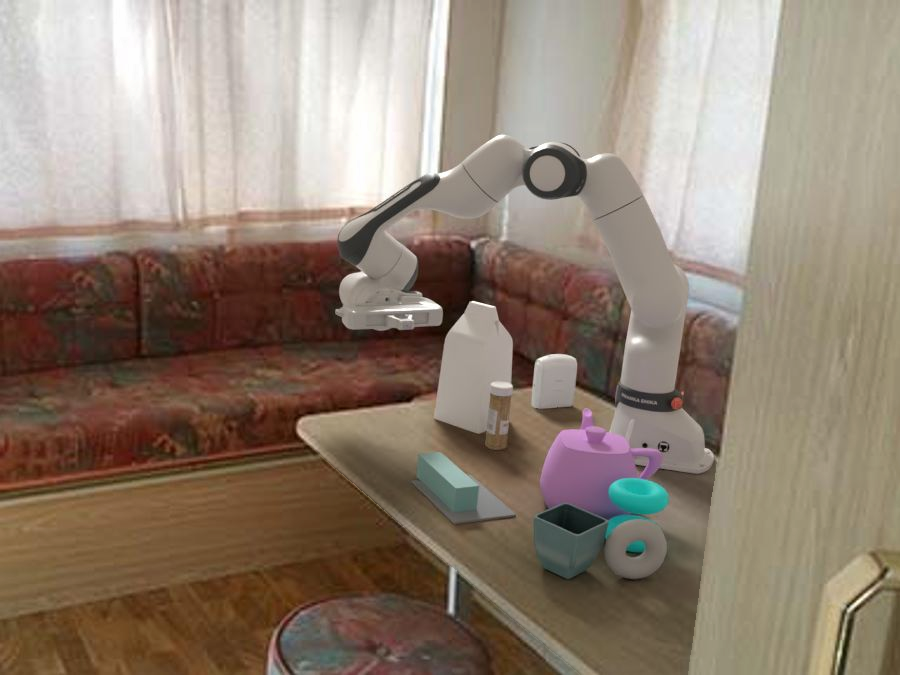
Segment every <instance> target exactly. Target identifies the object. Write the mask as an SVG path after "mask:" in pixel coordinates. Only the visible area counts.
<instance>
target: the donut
mask: <svg viewBox="0 0 900 675" xmlns="http://www.w3.org/2000/svg"><path fill="white" fill-rule="evenodd" d="M655 524H656V523H655ZM655 524H653V523H651V522H650V521H647V520H641V519H636V520H628V521H626V522H624V523H622V524H620V525H618V526H617V527H616V528H615V529H613V530H612V532H611V533H610V535H609V536H608V538H607V540H606V539H605V541H606V542H605V543H604V547H603V548H604V549H603V550H604V559H605V561H606V564H607V567H609V568H610V570H611V571H612V572H614V574H615V575H618V576H619V577H621V578H623V579H629V580H630V579H631V580H638V579H644V578H646V577H648V576H650V575H652V574H653V573H655V572H656V571H657V570H659V568H660V567H661V565H662V564H663V563H664V561H665V558H666V555H667V552H668V547H667V546H668V544H667V540H666V536H665V534H664V532H663V530H662V529H661V528H660V526H659V525H657V524H656V525H655ZM659 528H660V529H661V530H660V529H659ZM635 541H642V542H644V543H645V550H644V552H641V554H639V555H638V556H634V557H631V556H628V554H627V551H626V549H627V547H628V546H629V545H630V544H631V543H633V542H635Z"/></svg>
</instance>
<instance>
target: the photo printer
mask: <svg viewBox="0 0 900 675" xmlns="http://www.w3.org/2000/svg"><path fill="white" fill-rule="evenodd" d="M577 374H578V362H577V358H575V357H574V356H572V355H568V354H563V353H555V354H554V353H553V354H552V353H551V354H547V355H544V356H542V357H541V356H540V357H539V358H537V359H536V360H535V363H534V370H533V377H532V378H533V379H532V390H531V398H530V399H531V400H530V401H531V402H530V403H531V407H532V408H534V409H536V408H538V409H537V410H539V409H540V410H541V409H542V410H543V409H554V408H557V407H558V408H565V407H566V408H567V407H569V408H570V407H572V406H574V402H575V392H576V391H575V390H576V384H577V382H576V381H577Z"/></svg>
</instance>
